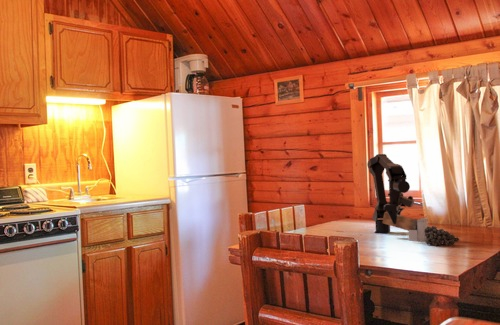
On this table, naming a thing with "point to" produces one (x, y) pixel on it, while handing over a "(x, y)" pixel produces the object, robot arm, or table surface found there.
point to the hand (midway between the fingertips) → (395, 223)
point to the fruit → (439, 236)
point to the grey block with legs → (419, 230)
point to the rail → (401, 222)
